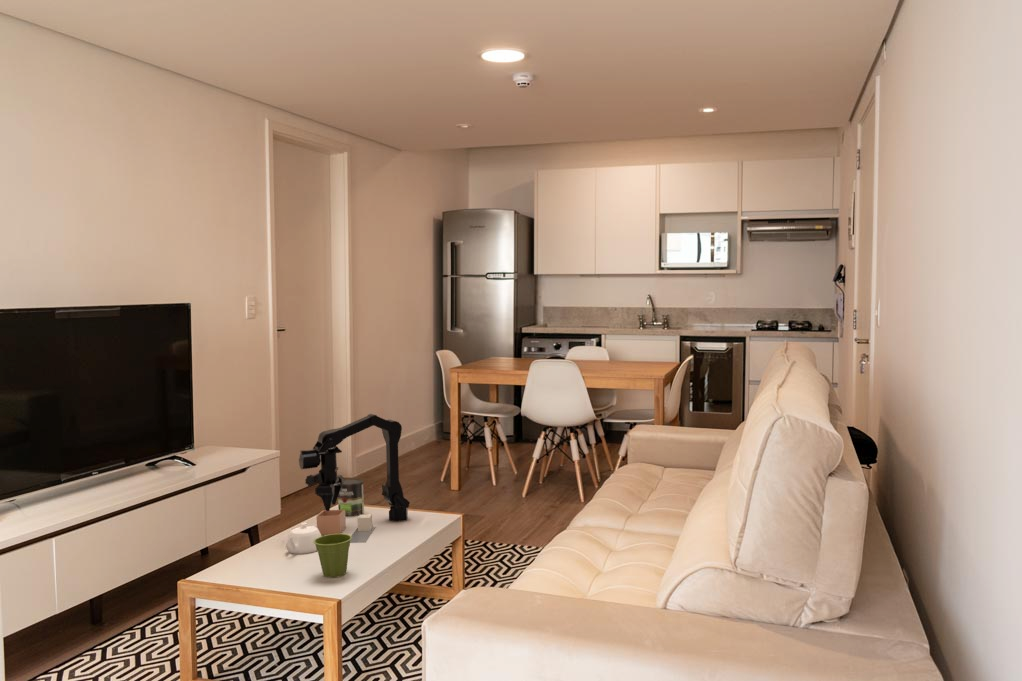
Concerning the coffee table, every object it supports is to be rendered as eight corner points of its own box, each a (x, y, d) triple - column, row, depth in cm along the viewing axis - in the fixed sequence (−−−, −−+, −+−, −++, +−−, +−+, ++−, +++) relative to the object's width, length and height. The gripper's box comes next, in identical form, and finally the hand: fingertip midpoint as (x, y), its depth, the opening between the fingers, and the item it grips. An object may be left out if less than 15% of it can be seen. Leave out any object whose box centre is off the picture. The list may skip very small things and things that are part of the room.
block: (372, 527, 298) (372, 514, 298) (370, 531, 294) (369, 517, 294) (360, 527, 299) (360, 514, 298) (358, 531, 294) (357, 517, 294)
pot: (346, 530, 300) (345, 509, 299) (340, 537, 291) (339, 515, 291) (323, 531, 300) (322, 510, 300) (317, 538, 291) (316, 516, 291)
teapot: (307, 562, 264) (306, 532, 263) (273, 561, 266) (272, 531, 266) (333, 544, 283) (332, 516, 283) (301, 543, 286) (300, 515, 285)
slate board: (376, 529, 299) (376, 526, 299) (365, 545, 280) (365, 542, 280) (357, 530, 300) (357, 527, 300) (345, 546, 280) (345, 542, 280)
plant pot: (337, 565, 260) (335, 531, 259) (361, 572, 252) (359, 537, 252) (307, 575, 251) (305, 540, 250) (331, 583, 243) (329, 546, 242)
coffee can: (356, 520, 314) (355, 484, 313) (333, 518, 317) (332, 483, 317) (369, 513, 324) (367, 479, 323) (346, 512, 327) (345, 478, 326)
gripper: (314, 461, 304) (315, 501, 305) (299, 471, 285) (301, 515, 286) (343, 460, 304) (345, 501, 304) (330, 470, 285) (332, 514, 286)
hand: (330, 507), depth 295 cm, fingers open, 9 cm apart
